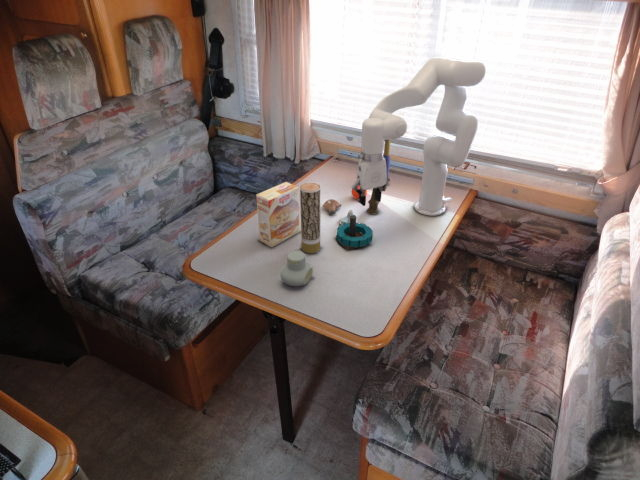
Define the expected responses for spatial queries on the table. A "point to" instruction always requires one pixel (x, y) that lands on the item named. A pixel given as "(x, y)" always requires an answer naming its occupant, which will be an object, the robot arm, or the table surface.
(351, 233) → the peg stand
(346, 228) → the ring
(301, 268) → the air freshener
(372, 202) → the kendama
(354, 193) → the clementine
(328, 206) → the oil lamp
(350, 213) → the pacifier
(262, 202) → the coffeecake box
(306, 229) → the patterned cylinder
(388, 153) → the rubber mallet
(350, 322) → the table surface
